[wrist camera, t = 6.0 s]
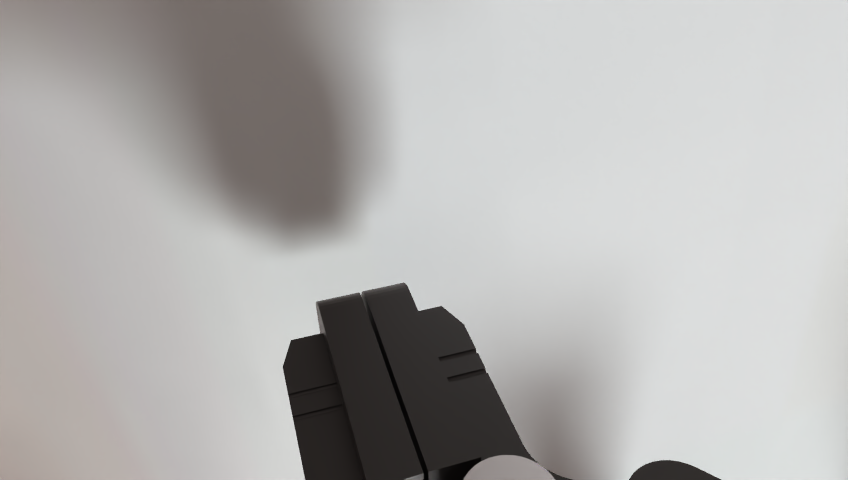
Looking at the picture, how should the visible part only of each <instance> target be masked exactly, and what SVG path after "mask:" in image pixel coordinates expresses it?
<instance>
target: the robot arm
mask: <svg viewBox="0 0 848 480" xmlns="http://www.w3.org/2000/svg"><path fill="white" fill-rule="evenodd" d="M361 296H362V297H361ZM316 308H317V315H318V321H319V328H320V334H317V335H312V336H308V337H304V338H299V339H295V340H291V342H290V346H289V349H288V352H287V355H286V358H285V362H284V365H283V370H284V375H285V380H286V385H287V390H288V395H289V400H290V405H291V410H292V415H293V420H294V425H295V430H296V435H297V440H298V445H299V450H300V455H301V460H302V465H303V470H304V475H305V480H572V479H567V478H564V477H561V476H559V475H556V474H554V473H552V472H550V471H548V470H547V469H545V468H544V467H542V466H541V465H540V464H538V463H537V462H536V461H535V460H534V459H533V458H532V457H531V456H530V454H529V453H528V452H527V450H526V449H525V447H524V445H523V444H522V442H521V440H520V438H519V435H518V433H517V431H516V429H515V427H514V425H513V423H512V421H511V419H510V417H509V415H508V413H507V411H506V409H505V407H504V405H503V403H502V401H501V399H500V397H499V395H498V393H497V391H496V389H495V387H494V385H493V383H492V381H491V379H490V377H489V375H488V373H486V370H485V367H484V364H483V362H482V360H481V358H480V356H479V354H478V353H476V348H475V346H474V344H473V342H472V340H471V338H470V336H469V334H468V332H467V330H466V328H465V326H464V324H463V323H461V322H460V321H459V320H458V319H457V318H455V317H454V316H453V315H452V314H451V313H449V312H448V311H447V310H446V309H445V308H443V307H442V306H440V307H435V308H431V309H426V310H422V311H418V309H417V307H416V305H415V302H414V300H413V298H412V296H411V293H410V291H409V289H408V287H407V285H406V284H405V283H400V284H396V285H391V286H386V287H382V288H377V289H372V290H368V291H363V292H362V295H360V293H355V294H350V295H346V296H341V297H336V298H332V299H327V300H322V301H318V302H316ZM629 480H721V479H719V478H717V477H714V476H712V475H710V474H708V473H706V472H704V471H702V470H700V469H698V468H696V467H694V466H691V465H689V464H686V463H682V462H678V461H671V460H661V461H655V462H651V463H648V464H645V465H644V466H642V467H640V468H639V469H638V470H637V471H635V472H634V473H633V475H632V476H631V478H630V479H629Z"/></svg>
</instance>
